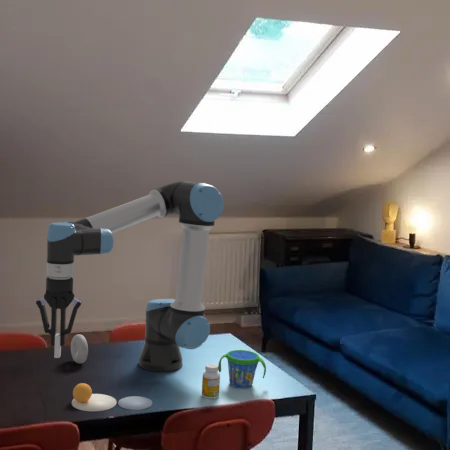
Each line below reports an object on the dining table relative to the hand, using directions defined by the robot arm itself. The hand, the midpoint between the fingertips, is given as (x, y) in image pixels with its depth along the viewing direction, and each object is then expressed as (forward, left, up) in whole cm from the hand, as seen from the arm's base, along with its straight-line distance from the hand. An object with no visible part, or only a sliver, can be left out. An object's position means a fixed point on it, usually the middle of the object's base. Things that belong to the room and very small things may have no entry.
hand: (57, 356), depth 200 cm
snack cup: (-57, -17, -14) cm, 61 cm away
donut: (-3, -35, -14) cm, 38 cm away
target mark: (-11, 0, -14) cm, 18 cm away
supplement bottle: (-46, -7, -14) cm, 49 cm away
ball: (-7, -1, -11) cm, 13 cm away
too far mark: (-23, 0, -14) cm, 27 cm away
